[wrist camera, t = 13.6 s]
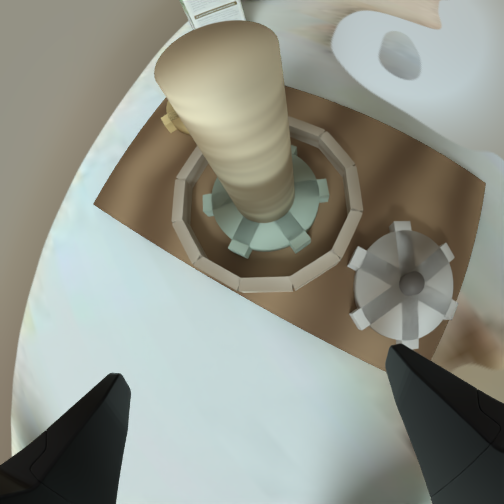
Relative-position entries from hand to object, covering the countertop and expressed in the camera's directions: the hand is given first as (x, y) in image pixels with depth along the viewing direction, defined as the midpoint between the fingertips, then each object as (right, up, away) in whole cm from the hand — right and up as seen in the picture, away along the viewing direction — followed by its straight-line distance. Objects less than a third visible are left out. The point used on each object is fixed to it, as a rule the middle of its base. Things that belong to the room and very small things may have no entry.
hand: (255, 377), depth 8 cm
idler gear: (+1, +7, +11) cm, 14 cm away
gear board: (+3, +9, +12) cm, 15 cm away
